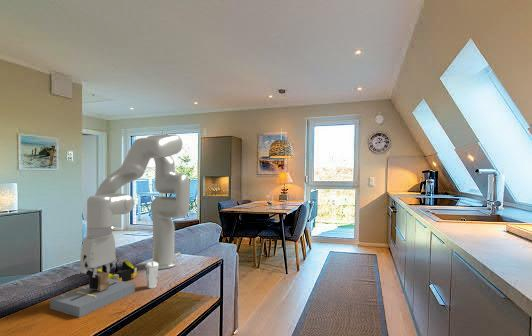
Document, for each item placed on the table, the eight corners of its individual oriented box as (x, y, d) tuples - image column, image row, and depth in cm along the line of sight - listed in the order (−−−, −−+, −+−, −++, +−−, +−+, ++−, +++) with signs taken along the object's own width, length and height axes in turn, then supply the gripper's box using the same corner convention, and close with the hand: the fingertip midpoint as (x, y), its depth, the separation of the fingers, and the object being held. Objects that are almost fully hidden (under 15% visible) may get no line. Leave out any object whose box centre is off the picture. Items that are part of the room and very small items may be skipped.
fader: (97, 285, 101) (97, 270, 101) (108, 287, 99) (108, 272, 99) (89, 288, 98) (89, 273, 98) (100, 291, 96) (100, 275, 96)
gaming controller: (92, 283, 112) (109, 288, 107) (92, 269, 112) (109, 273, 108) (126, 272, 125) (143, 275, 121) (126, 259, 125) (143, 262, 121)
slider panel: (107, 286, 109) (107, 277, 109) (134, 292, 104) (134, 283, 104) (49, 308, 91) (50, 298, 91) (79, 317, 85) (79, 306, 85)
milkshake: (145, 290, 105) (145, 262, 105) (145, 285, 110) (145, 258, 110) (158, 288, 107) (159, 261, 107) (158, 283, 112) (158, 257, 112)
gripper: (113, 227, 108) (112, 277, 108) (67, 235, 93) (66, 293, 93) (127, 228, 105) (127, 279, 105) (83, 237, 90) (82, 297, 90)
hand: (98, 285), depth 99 cm, fingers closed on fader, 3 cm apart
